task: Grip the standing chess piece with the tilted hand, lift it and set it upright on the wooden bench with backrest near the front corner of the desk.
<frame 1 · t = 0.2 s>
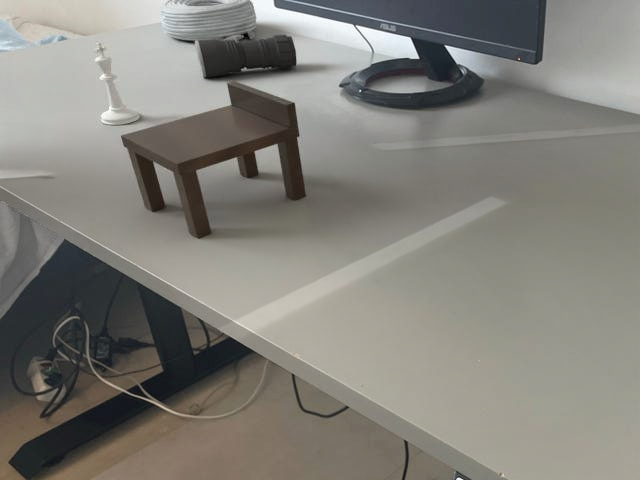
chess piece: (121, 120, 100), on the table
wooden bench with backrest: (226, 201, 79), on the table
cable: (212, 34, 138), on the table
flashlight: (249, 73, 118), on the table
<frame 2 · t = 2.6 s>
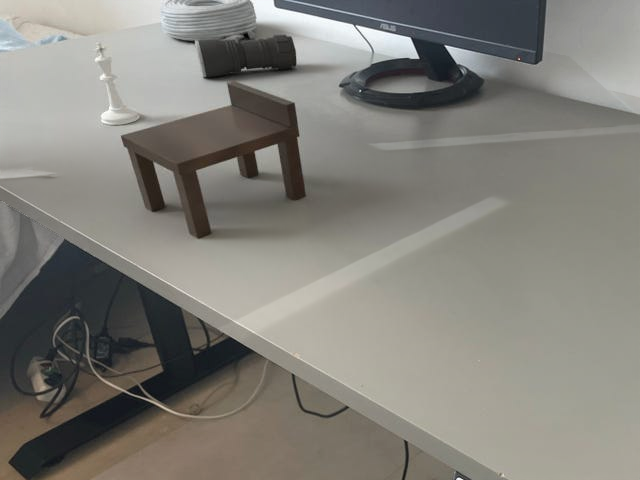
nothing on the table moved.
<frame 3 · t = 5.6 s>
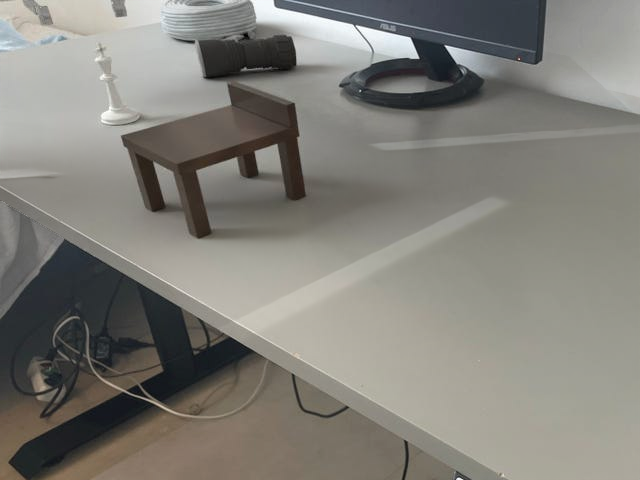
hand: (84, 18, 98), 12 cm above the table, tool tilted 45°, fingers open, 8 cm apart
nothing on the table moved.
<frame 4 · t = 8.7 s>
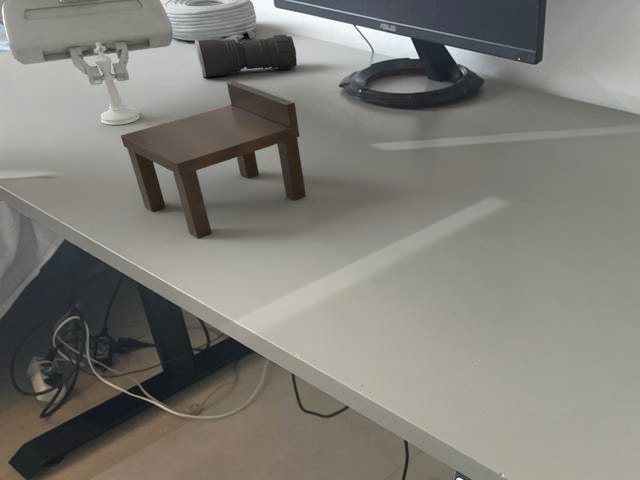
hand: (110, 80, 96), 5 cm above the table, tool tilted 45°, fingers closed on chess piece
chess piece: (121, 120, 100), on the table, touching gripper
everything else where it was.
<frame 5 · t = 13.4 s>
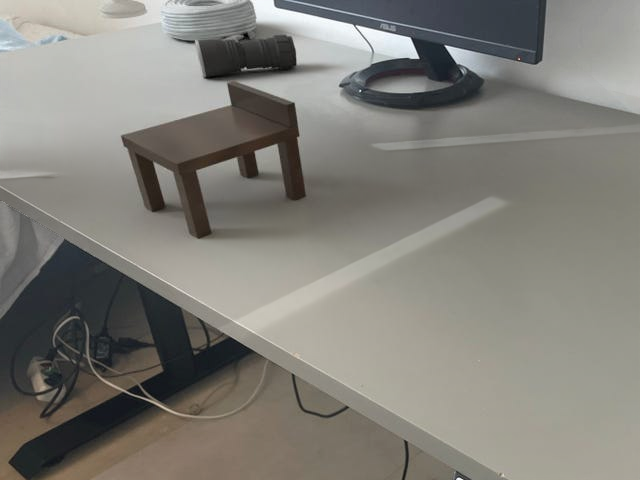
chess piece: (124, 15, 81), point 16 cm above the table, touching gripper
everything else where it was.
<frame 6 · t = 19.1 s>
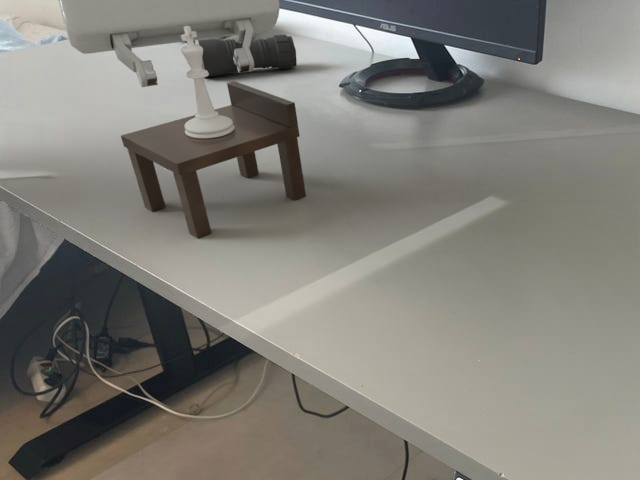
hand: (199, 75, 70), 14 cm above the table, tool tilted 45°, fingers open, 8 cm apart
chess piece: (210, 132, 74), point 8 cm above the table, touching wooden bench with backrest
everything else where it was.
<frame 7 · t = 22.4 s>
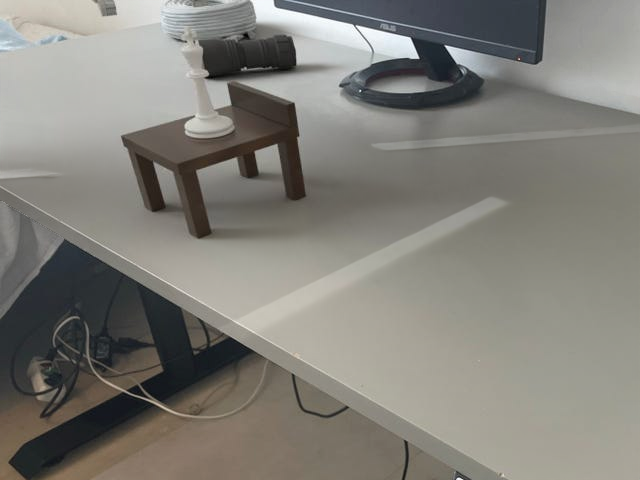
hand: (156, 8, 77), 17 cm above the table, tool tilted 45°, fingers open, 8 cm apart
nothing on the table moved.
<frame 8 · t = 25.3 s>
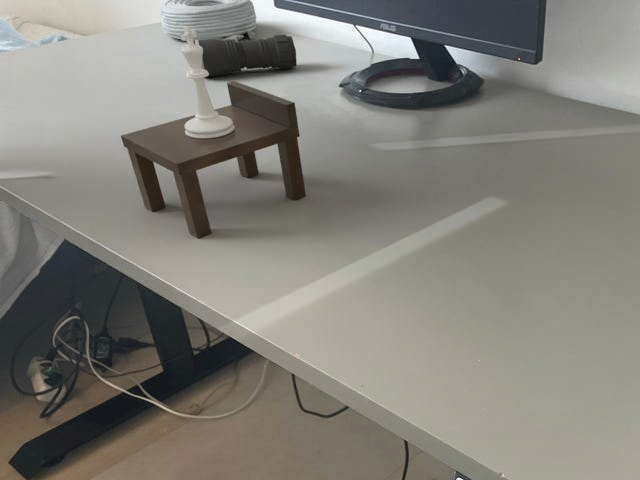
nothing on the table moved.
at the end: chess piece inside the target area on the wooden bench with backrest (0.1 cm from its centre), point 7.8 cm above the wooden bench with backrest's base; chess piece tilted 0°; the gripper is holding nothing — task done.
